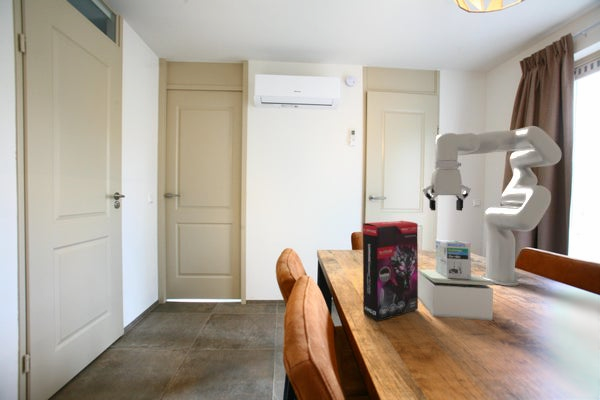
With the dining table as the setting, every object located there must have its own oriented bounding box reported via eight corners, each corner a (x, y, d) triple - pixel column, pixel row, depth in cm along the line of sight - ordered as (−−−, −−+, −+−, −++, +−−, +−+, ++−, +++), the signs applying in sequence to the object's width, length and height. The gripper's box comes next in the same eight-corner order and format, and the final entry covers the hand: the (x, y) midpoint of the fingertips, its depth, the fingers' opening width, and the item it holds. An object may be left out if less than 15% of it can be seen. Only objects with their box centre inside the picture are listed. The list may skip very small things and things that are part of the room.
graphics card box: (377, 323, 70) (378, 224, 70) (360, 312, 76) (361, 222, 76) (418, 310, 78) (420, 222, 78) (400, 302, 84) (401, 220, 84)
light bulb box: (472, 280, 74) (471, 243, 75) (447, 278, 76) (446, 242, 76) (456, 272, 85) (456, 239, 86) (435, 271, 86) (434, 239, 87)
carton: (467, 300, 86) (467, 274, 86) (492, 320, 73) (493, 289, 72) (417, 297, 89) (418, 271, 88) (432, 316, 75) (433, 285, 75)
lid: (467, 274, 86) (467, 271, 86) (493, 285, 72) (493, 282, 72) (418, 271, 88) (418, 269, 88) (433, 282, 75) (433, 279, 75)
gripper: (465, 166, 101) (464, 209, 102) (419, 167, 103) (419, 209, 104) (475, 164, 94) (475, 211, 94) (426, 165, 96) (426, 210, 96)
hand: (446, 210), depth 99 cm, fingers open, 9 cm apart
